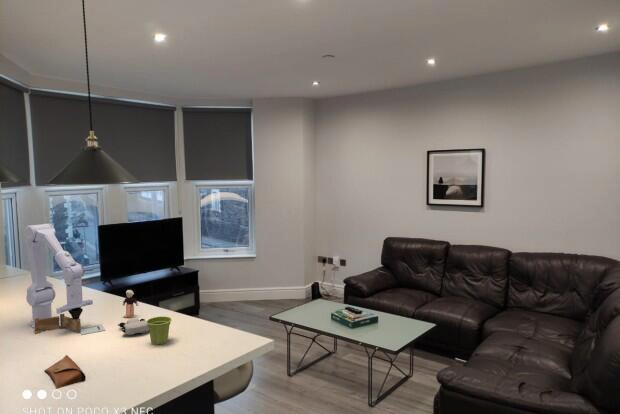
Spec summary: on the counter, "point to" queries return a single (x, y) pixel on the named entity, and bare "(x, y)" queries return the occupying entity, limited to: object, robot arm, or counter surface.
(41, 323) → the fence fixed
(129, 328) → the robot toy
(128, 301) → the grandmother figurine
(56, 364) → the sunglasses case
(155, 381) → the counter surface
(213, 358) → the counter surface
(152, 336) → the plant pot
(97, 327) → the card
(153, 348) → the counter surface
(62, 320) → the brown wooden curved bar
